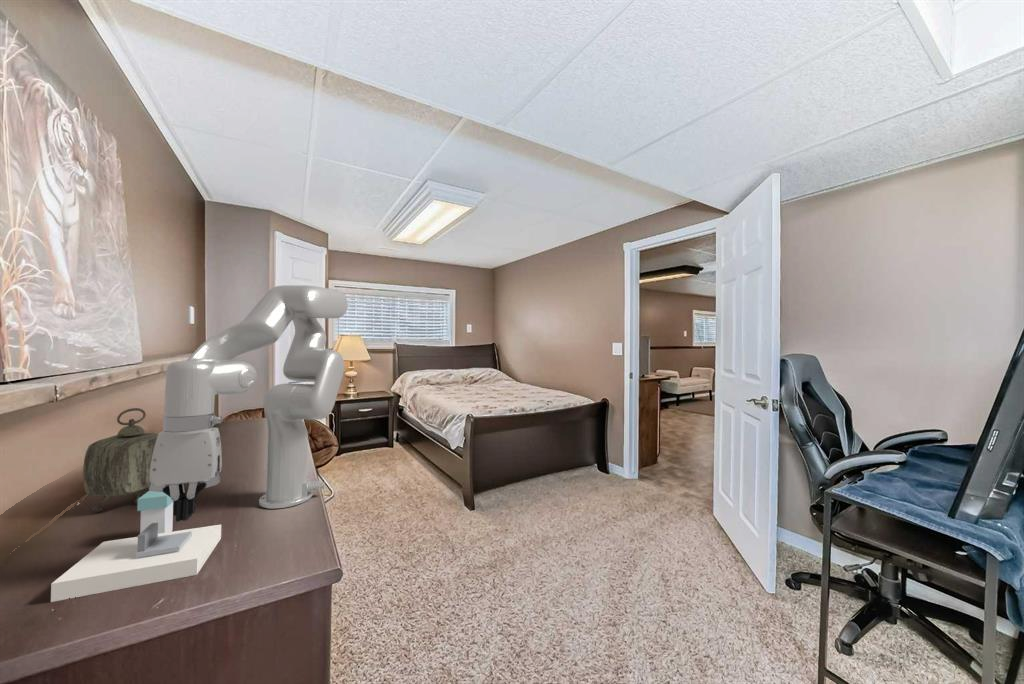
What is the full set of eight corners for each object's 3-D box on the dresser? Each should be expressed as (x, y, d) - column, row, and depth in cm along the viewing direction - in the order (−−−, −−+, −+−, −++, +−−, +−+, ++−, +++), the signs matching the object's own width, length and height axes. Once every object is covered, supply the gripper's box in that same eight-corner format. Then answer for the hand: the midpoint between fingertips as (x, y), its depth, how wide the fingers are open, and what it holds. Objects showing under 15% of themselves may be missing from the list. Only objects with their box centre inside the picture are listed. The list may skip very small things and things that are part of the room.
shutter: (191, 535, 76) (192, 516, 76) (179, 550, 70) (179, 530, 70) (152, 541, 73) (152, 522, 74) (135, 557, 68) (136, 537, 68)
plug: (175, 529, 84) (176, 487, 85) (165, 539, 80) (166, 495, 80) (147, 533, 83) (148, 490, 83) (136, 544, 78) (137, 499, 78)
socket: (221, 538, 81) (221, 524, 81) (196, 574, 68) (197, 558, 68) (102, 557, 73) (103, 541, 73) (50, 602, 61) (51, 583, 61)
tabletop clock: (142, 492, 105) (144, 403, 105) (173, 493, 105) (175, 404, 105) (81, 515, 91) (84, 413, 91) (117, 516, 90) (120, 413, 91)
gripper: (240, 418, 80) (236, 505, 79) (149, 422, 74) (143, 516, 73) (229, 424, 73) (225, 520, 72) (128, 429, 67) (122, 533, 66)
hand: (184, 518), depth 72 cm, fingers closed
